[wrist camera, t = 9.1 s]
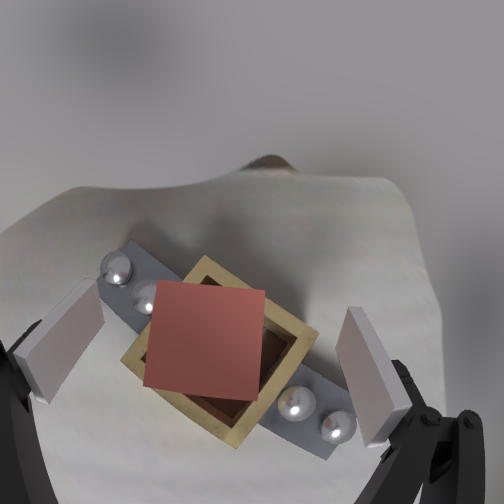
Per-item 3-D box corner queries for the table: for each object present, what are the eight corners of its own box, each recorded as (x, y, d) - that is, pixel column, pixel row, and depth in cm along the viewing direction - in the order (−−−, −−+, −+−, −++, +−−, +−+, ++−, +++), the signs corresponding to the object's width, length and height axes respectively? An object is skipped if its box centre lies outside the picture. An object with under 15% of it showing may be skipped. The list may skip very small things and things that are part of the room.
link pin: (190, 378, 19) (143, 386, 9) (196, 325, 20) (157, 279, 10) (246, 384, 19) (257, 401, 9) (250, 330, 20) (265, 290, 10)
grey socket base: (85, 311, 20) (64, 300, 17) (152, 230, 23) (141, 208, 20) (305, 474, 16) (317, 490, 13) (369, 378, 19) (391, 378, 16)
